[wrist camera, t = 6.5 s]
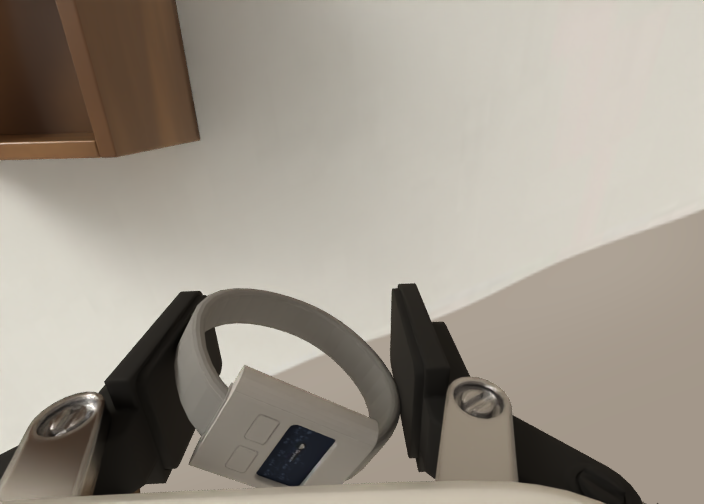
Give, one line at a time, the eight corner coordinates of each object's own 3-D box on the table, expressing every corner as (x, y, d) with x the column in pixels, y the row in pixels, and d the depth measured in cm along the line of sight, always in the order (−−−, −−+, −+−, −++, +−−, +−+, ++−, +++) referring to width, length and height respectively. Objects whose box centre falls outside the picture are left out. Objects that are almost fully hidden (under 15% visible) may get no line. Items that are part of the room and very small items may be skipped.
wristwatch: (202, 310, 12) (111, 446, 7) (236, 243, 11) (157, 351, 6) (360, 380, 13) (371, 533, 8) (402, 327, 12) (439, 465, 8)
